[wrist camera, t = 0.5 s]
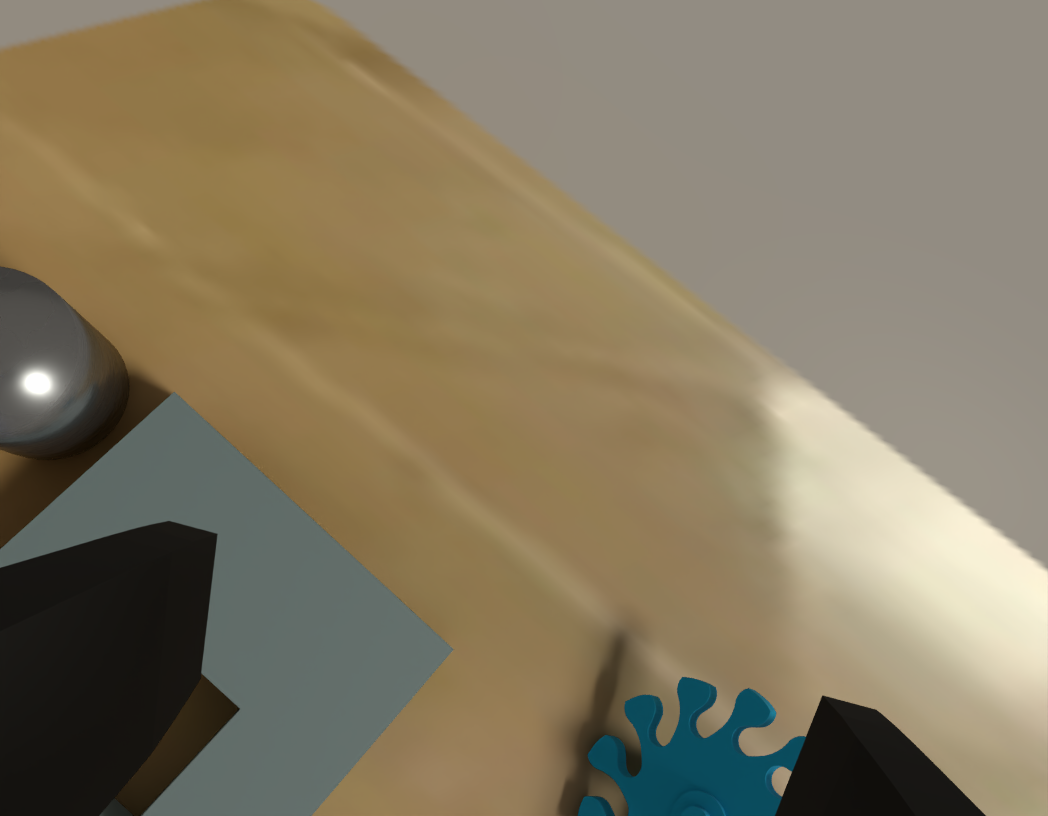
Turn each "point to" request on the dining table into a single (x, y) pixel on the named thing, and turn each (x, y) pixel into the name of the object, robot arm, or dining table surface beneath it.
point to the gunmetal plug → (53, 374)
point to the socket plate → (255, 618)
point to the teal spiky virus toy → (693, 760)
